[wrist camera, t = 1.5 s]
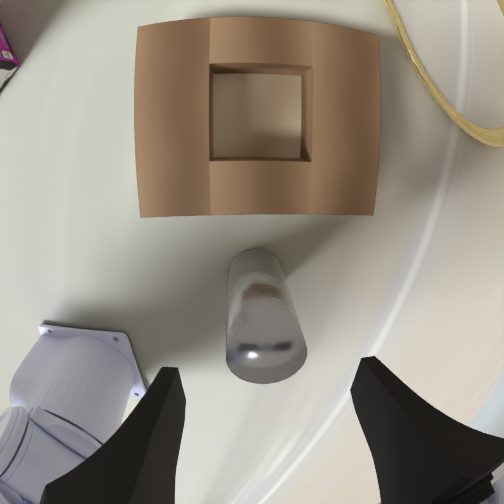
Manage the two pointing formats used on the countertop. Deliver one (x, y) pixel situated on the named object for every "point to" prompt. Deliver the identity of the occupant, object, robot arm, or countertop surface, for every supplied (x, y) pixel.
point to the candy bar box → (6, 60)
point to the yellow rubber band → (485, 136)
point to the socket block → (256, 117)
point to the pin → (261, 321)
